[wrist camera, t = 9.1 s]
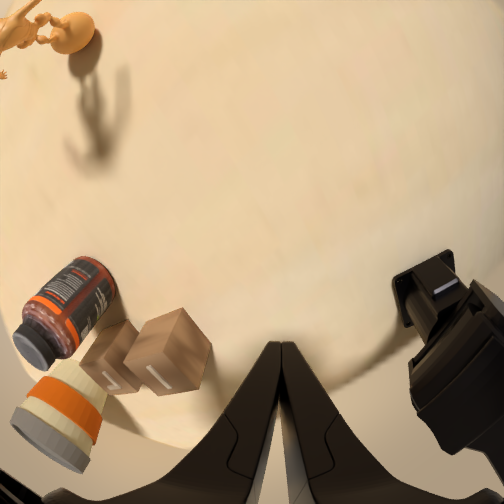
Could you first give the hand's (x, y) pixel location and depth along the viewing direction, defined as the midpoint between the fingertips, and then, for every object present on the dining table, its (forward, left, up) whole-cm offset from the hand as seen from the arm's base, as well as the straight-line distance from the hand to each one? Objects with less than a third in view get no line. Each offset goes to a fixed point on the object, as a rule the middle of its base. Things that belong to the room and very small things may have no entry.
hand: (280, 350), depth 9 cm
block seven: (-5, +21, -13) cm, 25 cm away
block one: (-6, +14, -13) cm, 20 cm away
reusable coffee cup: (-9, +37, -13) cm, 40 cm away
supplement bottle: (+3, +19, -13) cm, 23 cm away
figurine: (+22, +6, -13) cm, 26 cm away
